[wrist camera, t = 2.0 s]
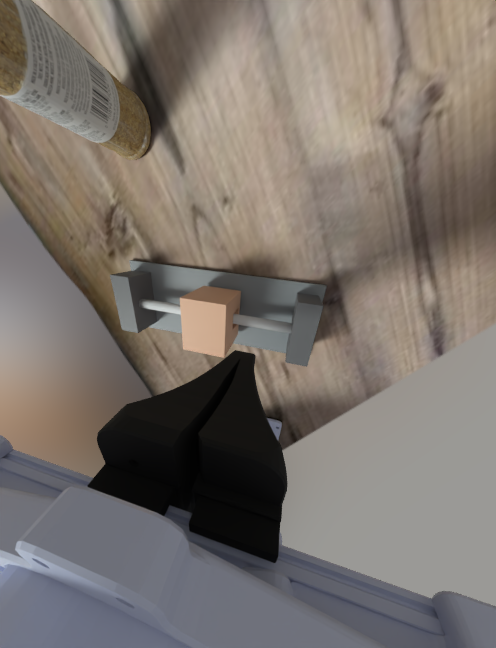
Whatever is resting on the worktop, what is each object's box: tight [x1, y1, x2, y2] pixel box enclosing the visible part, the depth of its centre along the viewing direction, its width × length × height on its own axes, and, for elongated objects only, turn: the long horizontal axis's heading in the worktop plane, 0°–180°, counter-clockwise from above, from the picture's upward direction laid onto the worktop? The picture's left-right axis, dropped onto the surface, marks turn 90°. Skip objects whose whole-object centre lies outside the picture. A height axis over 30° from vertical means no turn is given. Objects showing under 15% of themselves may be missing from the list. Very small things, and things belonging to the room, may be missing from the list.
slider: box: [180, 286, 241, 358], centre depth 18 cm, size 4×5×5 cm
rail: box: [110, 260, 327, 366], centre depth 19 cm, size 21×8×4 cm, turn 85°
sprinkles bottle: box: [0, 0, 151, 160], centre depth 10 cm, size 5×5×13 cm
